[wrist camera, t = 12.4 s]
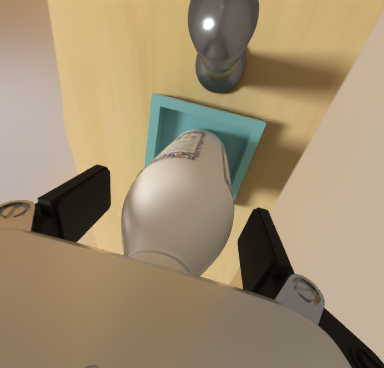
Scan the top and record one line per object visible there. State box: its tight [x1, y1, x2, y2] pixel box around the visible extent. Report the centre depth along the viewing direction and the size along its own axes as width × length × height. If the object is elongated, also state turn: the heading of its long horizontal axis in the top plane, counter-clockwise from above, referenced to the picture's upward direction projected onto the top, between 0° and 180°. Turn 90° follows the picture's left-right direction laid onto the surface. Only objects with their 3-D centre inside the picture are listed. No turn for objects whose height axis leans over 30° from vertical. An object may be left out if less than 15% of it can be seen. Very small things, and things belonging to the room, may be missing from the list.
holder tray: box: [145, 93, 266, 201], centre depth 21 cm, size 12×12×3 cm
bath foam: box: [121, 129, 234, 277], centre depth 13 cm, size 7×7×20 cm
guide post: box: [188, 0, 259, 93], centre depth 13 cm, size 5×5×12 cm
